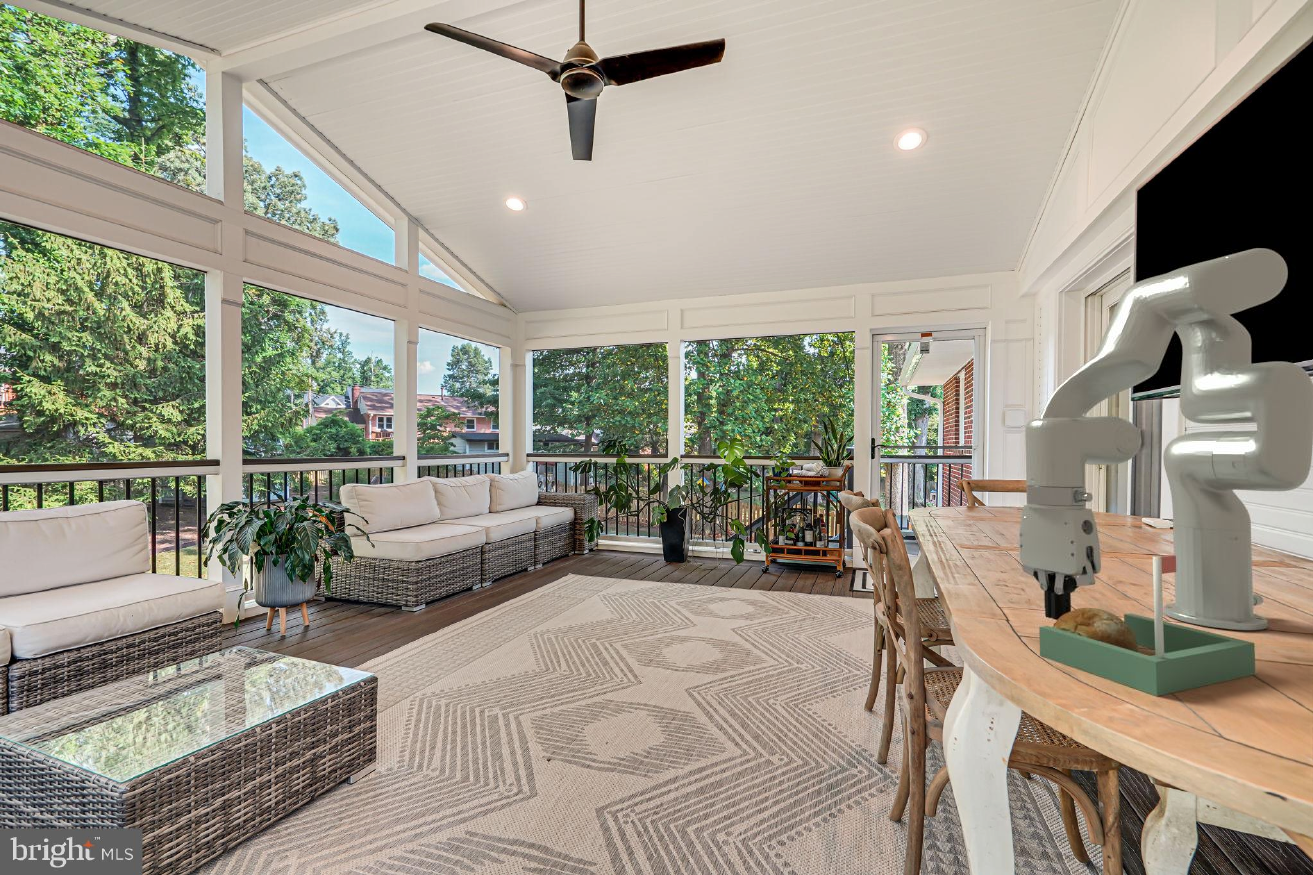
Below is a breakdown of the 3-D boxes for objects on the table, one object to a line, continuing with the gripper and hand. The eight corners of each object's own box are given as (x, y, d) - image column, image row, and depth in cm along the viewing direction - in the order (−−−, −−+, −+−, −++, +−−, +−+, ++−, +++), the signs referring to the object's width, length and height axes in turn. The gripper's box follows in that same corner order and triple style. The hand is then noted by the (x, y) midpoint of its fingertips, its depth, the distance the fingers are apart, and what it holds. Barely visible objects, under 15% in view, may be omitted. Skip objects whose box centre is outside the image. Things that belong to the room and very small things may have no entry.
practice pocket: (1131, 639, 88) (1128, 534, 89) (1255, 674, 75) (1251, 549, 75) (1039, 655, 82) (1037, 541, 83) (1156, 696, 69) (1153, 559, 69)
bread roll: (1139, 693, 78) (1168, 641, 77) (1059, 654, 80) (1086, 603, 80) (1103, 666, 87) (1129, 619, 87) (1033, 632, 90) (1057, 586, 89)
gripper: (1124, 501, 84) (1127, 629, 83) (1028, 493, 98) (1030, 603, 98) (1087, 502, 81) (1090, 635, 81) (994, 495, 96) (996, 607, 95)
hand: (1057, 617), depth 89 cm, fingers closed
